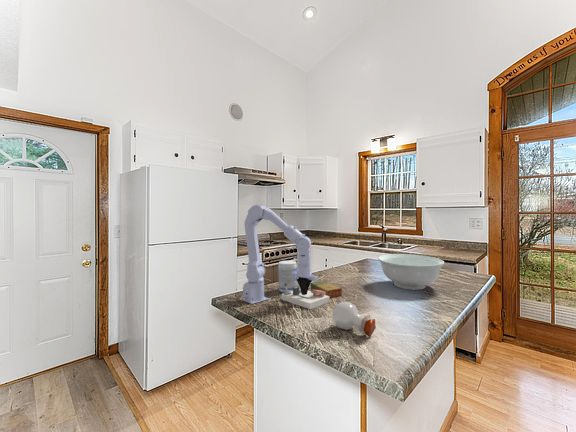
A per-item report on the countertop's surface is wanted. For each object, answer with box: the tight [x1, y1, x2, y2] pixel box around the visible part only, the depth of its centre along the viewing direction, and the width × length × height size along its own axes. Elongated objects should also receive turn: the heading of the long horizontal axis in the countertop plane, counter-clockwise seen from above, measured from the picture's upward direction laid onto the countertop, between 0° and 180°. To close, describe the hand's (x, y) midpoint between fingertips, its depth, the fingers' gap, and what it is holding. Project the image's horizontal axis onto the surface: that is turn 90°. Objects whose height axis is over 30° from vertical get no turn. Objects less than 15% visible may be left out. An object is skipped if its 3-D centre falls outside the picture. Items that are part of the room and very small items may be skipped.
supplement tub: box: [277, 260, 298, 293], centre depth 147 cm, size 10×10×15 cm
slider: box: [293, 286, 300, 295], centre depth 132 cm, size 2×2×3 cm
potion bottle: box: [331, 301, 376, 338], centre depth 99 cm, size 9×10×15 cm
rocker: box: [310, 289, 326, 295], centre depth 130 cm, size 6×4×2 cm, turn 133°
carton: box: [310, 280, 343, 299], centre depth 142 cm, size 8×16×4 cm, turn 26°
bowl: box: [377, 253, 445, 291], centre depth 153 cm, size 32×32×15 cm
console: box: [281, 289, 331, 310], centre depth 131 cm, size 13×18×4 cm
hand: (304, 294), depth 128 cm, fingers closed
